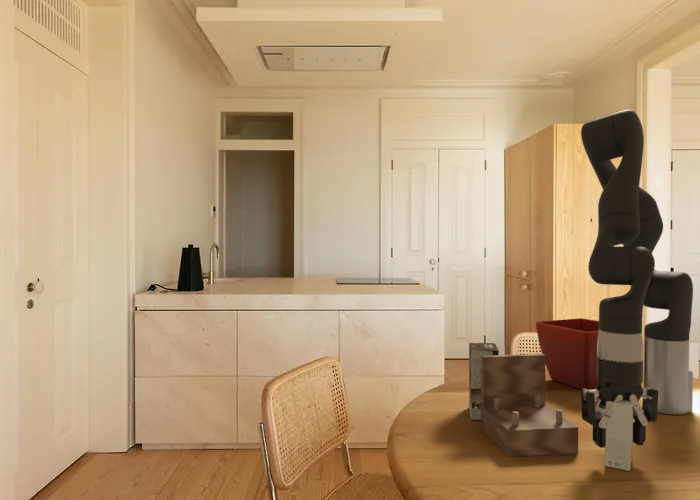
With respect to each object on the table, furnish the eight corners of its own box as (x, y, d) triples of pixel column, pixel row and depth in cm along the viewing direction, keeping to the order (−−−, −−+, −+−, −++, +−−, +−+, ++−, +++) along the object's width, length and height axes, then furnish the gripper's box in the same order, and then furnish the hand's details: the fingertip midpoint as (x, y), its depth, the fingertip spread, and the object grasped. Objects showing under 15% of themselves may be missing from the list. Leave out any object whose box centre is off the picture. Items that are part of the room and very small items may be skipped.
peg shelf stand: (542, 426, 112) (542, 353, 111) (578, 452, 98) (578, 370, 97) (481, 429, 110) (481, 355, 110) (508, 456, 96) (509, 372, 96)
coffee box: (499, 422, 114) (499, 350, 114) (469, 420, 116) (469, 349, 115) (495, 408, 123) (496, 342, 123) (468, 406, 124) (468, 341, 124)
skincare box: (631, 472, 90) (632, 405, 89) (604, 466, 92) (605, 400, 92) (633, 459, 95) (633, 395, 94) (607, 454, 97) (608, 392, 97)
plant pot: (580, 371, 157) (581, 317, 157) (637, 387, 140) (638, 327, 139) (533, 378, 149) (533, 321, 149) (587, 396, 132) (587, 332, 132)
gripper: (642, 349, 97) (641, 435, 98) (571, 351, 96) (570, 438, 96) (671, 359, 90) (669, 451, 90) (595, 361, 88) (594, 455, 89)
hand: (618, 444), depth 93 cm, fingers closed on skincare box, 7 cm apart
